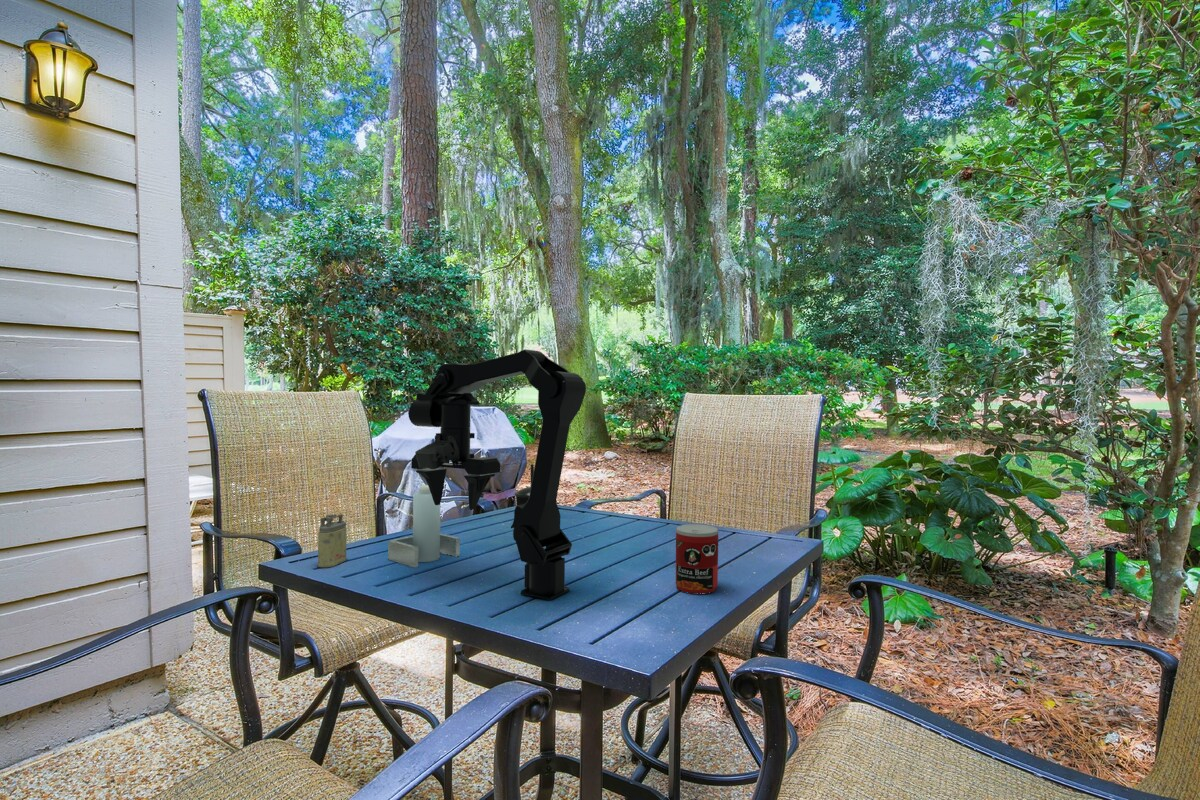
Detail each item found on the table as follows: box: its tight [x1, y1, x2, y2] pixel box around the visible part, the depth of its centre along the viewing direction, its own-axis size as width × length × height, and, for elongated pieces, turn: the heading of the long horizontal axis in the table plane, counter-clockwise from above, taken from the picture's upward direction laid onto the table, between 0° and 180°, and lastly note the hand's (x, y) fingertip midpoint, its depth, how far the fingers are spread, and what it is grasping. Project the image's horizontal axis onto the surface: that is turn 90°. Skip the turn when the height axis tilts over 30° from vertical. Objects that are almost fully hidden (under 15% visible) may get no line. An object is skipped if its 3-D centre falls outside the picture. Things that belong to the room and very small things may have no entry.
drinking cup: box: [514, 463, 535, 506], centre depth 130 cm, size 8×8×20 cm
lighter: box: [317, 513, 348, 568], centre depth 121 cm, size 7×4×10 cm, turn 171°
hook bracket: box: [387, 532, 461, 569], centre depth 126 cm, size 10×12×7 cm
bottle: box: [412, 484, 441, 563], centre depth 125 cm, size 6×6×16 cm
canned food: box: [675, 523, 719, 595], centre depth 107 cm, size 8×8×11 cm
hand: (454, 507), depth 115 cm, fingers open, 9 cm apart
